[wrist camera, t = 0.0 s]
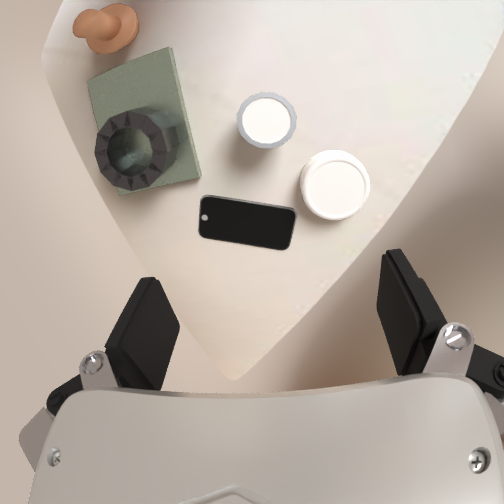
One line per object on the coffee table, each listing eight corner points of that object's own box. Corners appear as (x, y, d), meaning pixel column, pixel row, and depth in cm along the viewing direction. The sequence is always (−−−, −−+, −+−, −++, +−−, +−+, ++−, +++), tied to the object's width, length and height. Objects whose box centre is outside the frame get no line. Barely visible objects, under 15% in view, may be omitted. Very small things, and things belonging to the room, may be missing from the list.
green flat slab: (91, 81, 32) (67, 83, 27) (172, 48, 30) (154, 42, 25) (123, 192, 43) (104, 209, 37) (201, 174, 41) (190, 189, 35)
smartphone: (200, 194, 42) (298, 210, 43) (201, 192, 43) (298, 208, 43) (197, 237, 47) (288, 252, 47) (198, 235, 47) (287, 249, 47)
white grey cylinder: (247, 142, 38) (242, 153, 32) (238, 95, 34) (231, 97, 28) (296, 135, 37) (300, 145, 31) (288, 88, 33) (292, 88, 27)
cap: (97, 22, 27) (58, 14, 18) (142, 0, 26) (109, -16, 17) (104, 62, 31) (65, 62, 23) (150, 43, 30) (116, 34, 21)
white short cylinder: (363, 209, 42) (370, 219, 39) (302, 214, 44) (304, 224, 41) (363, 147, 37) (371, 153, 34) (296, 151, 38) (298, 157, 35)
